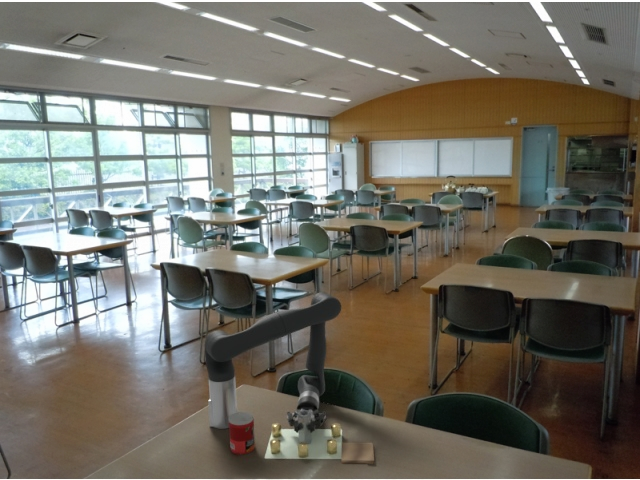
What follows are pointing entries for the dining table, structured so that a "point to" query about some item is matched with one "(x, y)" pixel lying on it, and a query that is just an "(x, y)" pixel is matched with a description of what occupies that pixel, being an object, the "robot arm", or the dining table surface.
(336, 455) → the parts mat
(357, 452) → the tray
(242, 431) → the canned food
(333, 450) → the spacers
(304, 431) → the grey hexagonal metal post
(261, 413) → the dining table surface
